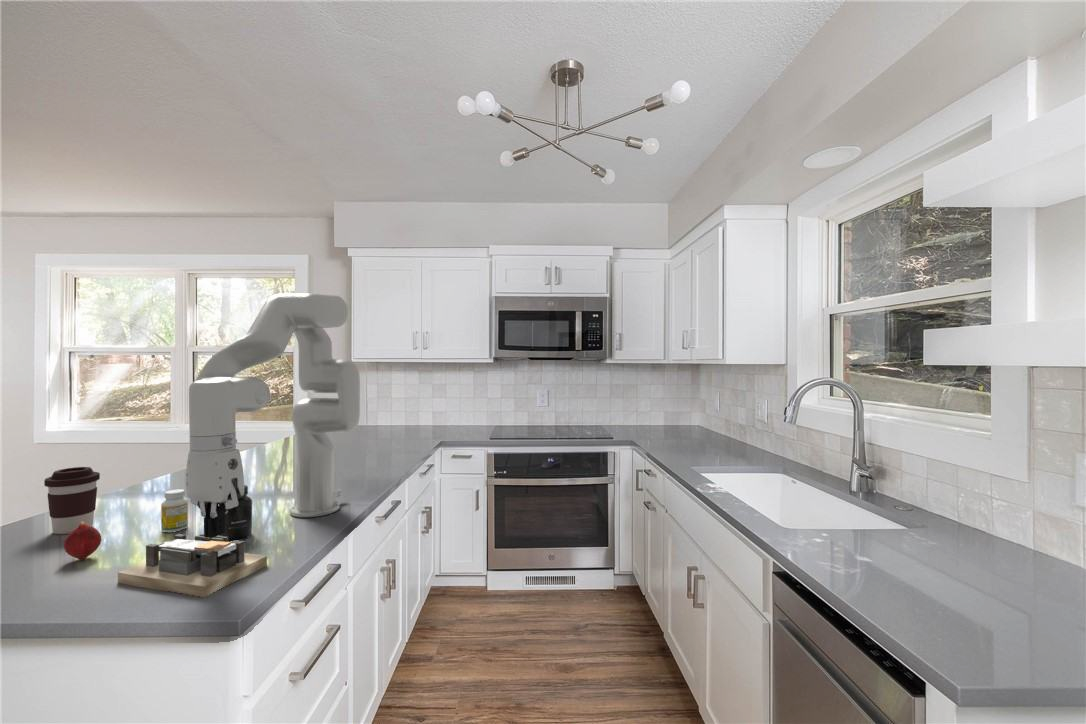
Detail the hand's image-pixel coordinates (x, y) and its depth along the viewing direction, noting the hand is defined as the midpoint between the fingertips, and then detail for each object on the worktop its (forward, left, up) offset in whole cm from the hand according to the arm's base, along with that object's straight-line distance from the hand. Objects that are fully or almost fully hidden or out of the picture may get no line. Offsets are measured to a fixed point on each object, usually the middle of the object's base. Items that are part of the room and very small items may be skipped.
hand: (214, 535), depth 97 cm
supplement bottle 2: (-18, -14, -8) cm, 24 cm away
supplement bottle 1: (-18, -33, -8) cm, 38 cm away
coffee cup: (-11, -57, -8) cm, 58 cm away
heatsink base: (0, -4, -8) cm, 9 cm away
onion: (+1, -34, -8) cm, 35 cm away
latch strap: (0, -4, -3) cm, 6 cm away
